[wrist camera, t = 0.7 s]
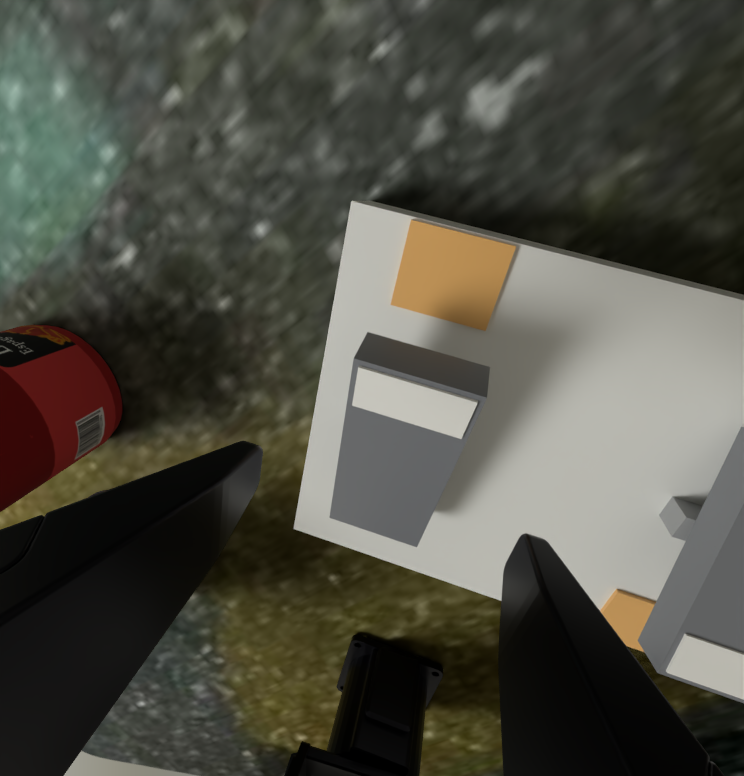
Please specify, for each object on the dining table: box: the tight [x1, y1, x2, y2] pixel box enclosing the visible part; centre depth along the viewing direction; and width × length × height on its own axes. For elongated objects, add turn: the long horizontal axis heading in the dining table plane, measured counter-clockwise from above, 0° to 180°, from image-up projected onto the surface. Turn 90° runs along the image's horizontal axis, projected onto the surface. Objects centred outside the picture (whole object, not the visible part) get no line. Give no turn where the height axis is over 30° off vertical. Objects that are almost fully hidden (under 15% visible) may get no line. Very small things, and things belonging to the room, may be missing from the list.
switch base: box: [294, 201, 744, 652], centre depth 18 cm, size 16×20×4 cm
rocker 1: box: [329, 332, 490, 547], centre depth 15 cm, size 9×4×2 cm, turn 168°
